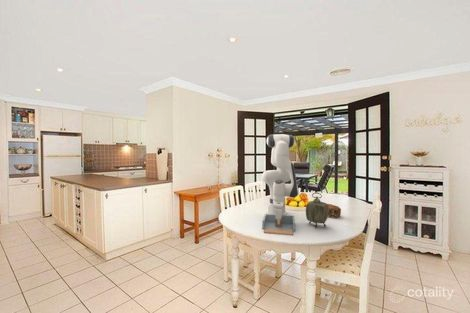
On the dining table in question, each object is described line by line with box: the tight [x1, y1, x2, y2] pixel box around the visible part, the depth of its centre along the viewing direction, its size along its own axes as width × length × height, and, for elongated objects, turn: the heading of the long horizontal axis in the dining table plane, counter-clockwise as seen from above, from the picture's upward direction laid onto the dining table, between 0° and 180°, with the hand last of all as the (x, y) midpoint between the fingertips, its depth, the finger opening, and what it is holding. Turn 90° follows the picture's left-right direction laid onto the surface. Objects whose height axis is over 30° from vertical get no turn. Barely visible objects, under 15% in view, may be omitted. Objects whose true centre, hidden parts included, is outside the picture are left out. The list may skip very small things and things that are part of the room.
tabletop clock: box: [305, 192, 329, 228], centre depth 162 cm, size 14×9×25 cm, turn 59°
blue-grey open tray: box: [261, 213, 296, 233], centre depth 159 cm, size 17×22×7 cm
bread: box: [326, 203, 342, 219], centre depth 190 cm, size 19×11×10 cm, turn 44°
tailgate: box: [263, 229, 294, 236], centre depth 148 cm, size 1×19×7 cm
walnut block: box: [275, 218, 283, 227], centre depth 160 cm, size 5×5×5 cm
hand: (278, 221), depth 160 cm, fingers open, 8 cm apart
